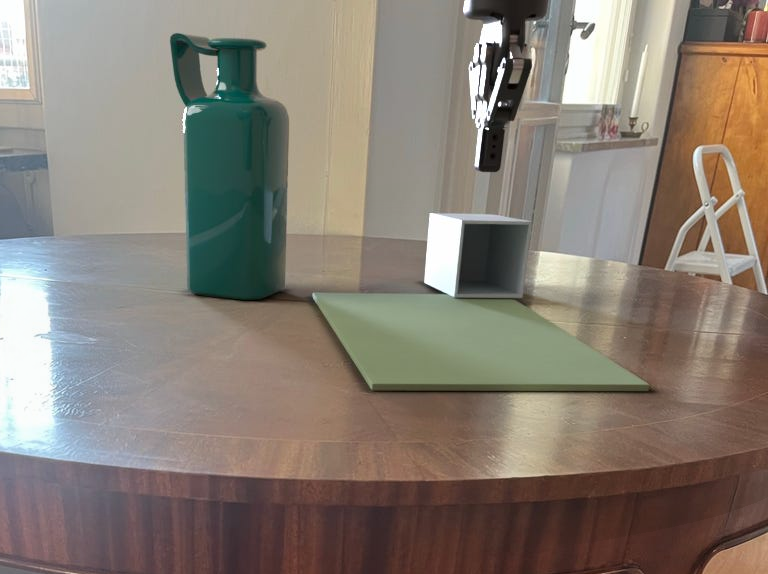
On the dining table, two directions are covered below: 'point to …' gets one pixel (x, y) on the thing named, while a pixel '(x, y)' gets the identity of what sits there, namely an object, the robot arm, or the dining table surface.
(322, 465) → the dining table surface
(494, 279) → the bin
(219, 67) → the pitcher
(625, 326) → the dining table surface
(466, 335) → the mat
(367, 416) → the dining table surface
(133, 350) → the dining table surface
